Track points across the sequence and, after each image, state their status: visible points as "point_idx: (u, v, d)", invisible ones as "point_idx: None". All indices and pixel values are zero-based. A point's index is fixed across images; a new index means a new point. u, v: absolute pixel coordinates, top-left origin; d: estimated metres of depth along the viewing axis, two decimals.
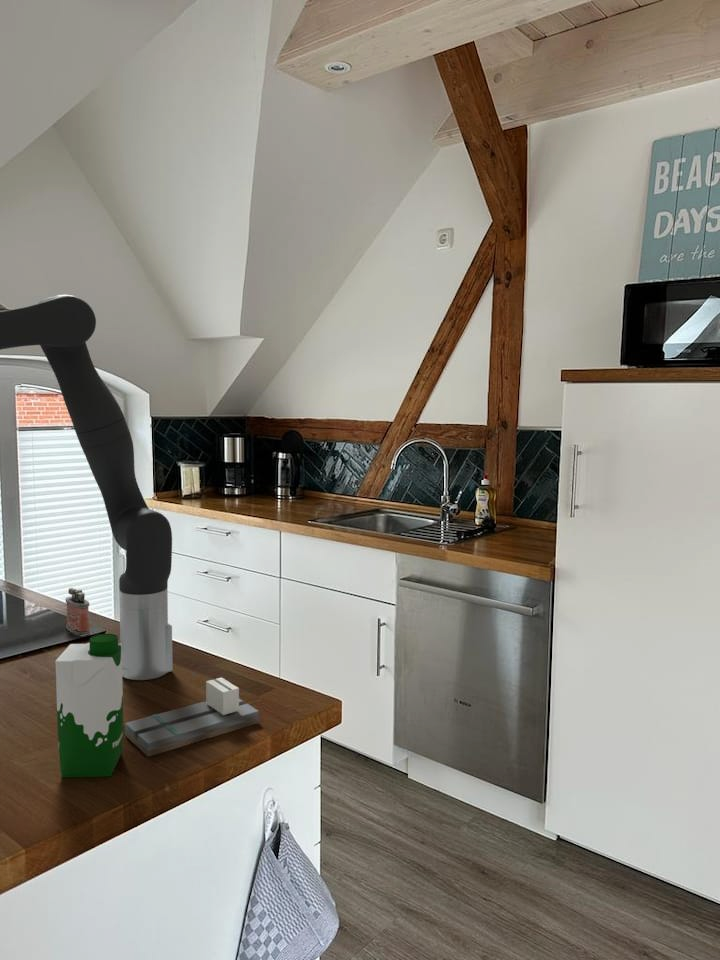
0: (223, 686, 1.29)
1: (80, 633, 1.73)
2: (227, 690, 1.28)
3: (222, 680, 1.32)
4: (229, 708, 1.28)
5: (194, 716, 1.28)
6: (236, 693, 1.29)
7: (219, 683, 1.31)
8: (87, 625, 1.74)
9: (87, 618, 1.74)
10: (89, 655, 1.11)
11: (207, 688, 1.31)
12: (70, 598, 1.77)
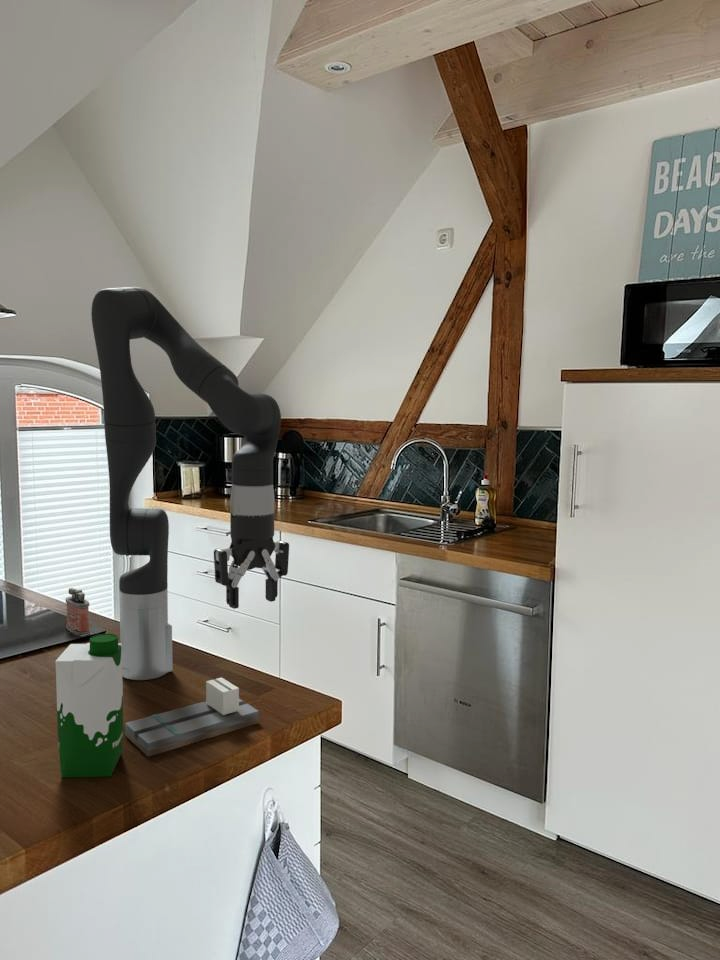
0: (223, 686, 1.29)
1: (80, 633, 1.73)
2: (227, 690, 1.28)
3: (222, 680, 1.32)
4: (229, 708, 1.28)
5: (194, 716, 1.28)
6: (236, 693, 1.29)
7: (219, 683, 1.31)
8: (87, 625, 1.74)
9: (87, 618, 1.74)
10: (89, 655, 1.11)
11: (207, 688, 1.31)
12: (70, 598, 1.77)
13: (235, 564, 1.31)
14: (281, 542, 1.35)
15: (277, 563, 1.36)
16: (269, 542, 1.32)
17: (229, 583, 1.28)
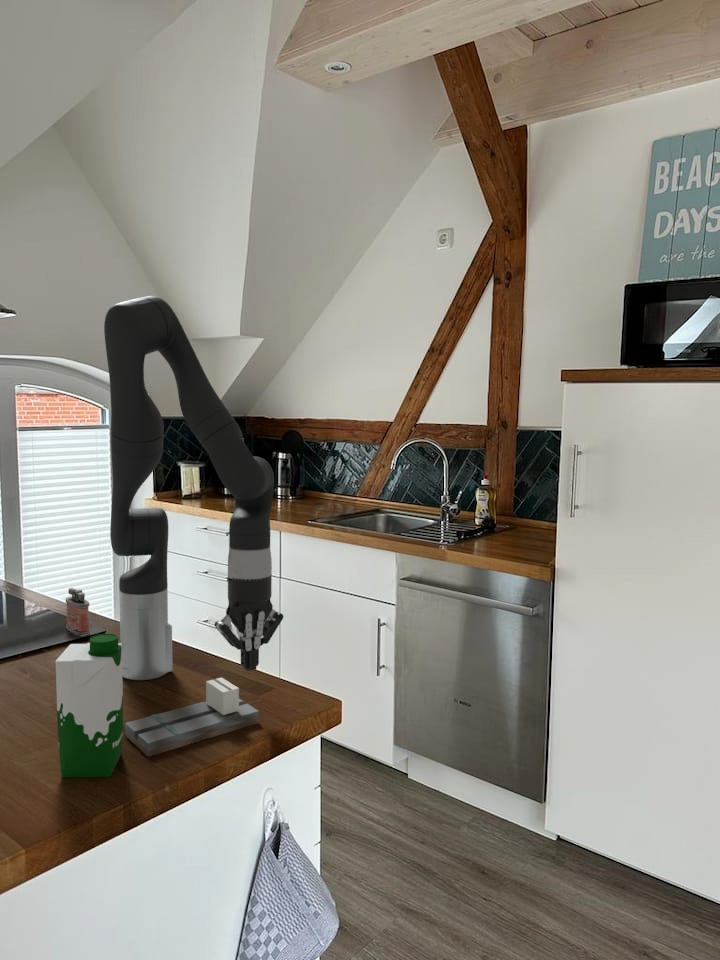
0: (223, 686, 1.29)
1: (80, 633, 1.73)
2: (227, 690, 1.28)
3: (222, 680, 1.32)
4: (229, 708, 1.28)
5: (194, 716, 1.28)
6: (236, 693, 1.29)
7: (219, 683, 1.31)
8: (87, 625, 1.74)
9: (87, 618, 1.74)
10: (89, 655, 1.11)
11: (207, 688, 1.31)
12: (70, 598, 1.77)
13: None
14: (277, 612, 1.35)
15: (262, 630, 1.35)
16: (269, 603, 1.33)
17: (243, 646, 1.31)
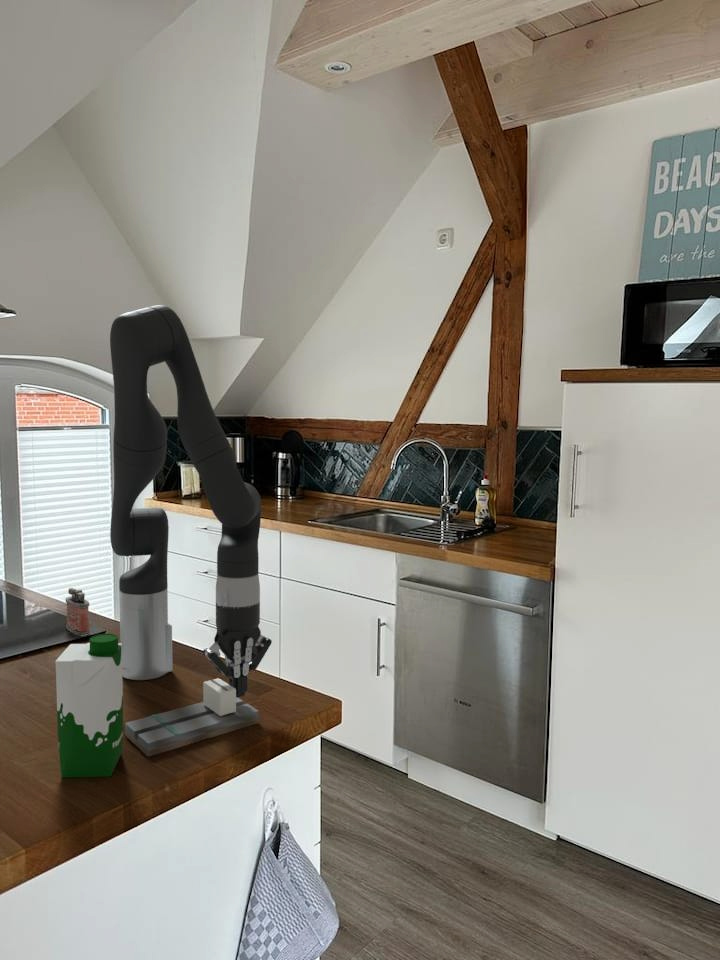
0: (220, 687, 1.29)
1: (80, 633, 1.73)
2: (224, 691, 1.28)
3: (219, 681, 1.32)
4: (226, 709, 1.28)
5: (194, 716, 1.28)
6: (233, 694, 1.28)
7: (216, 684, 1.30)
8: (87, 625, 1.74)
9: (87, 618, 1.74)
10: (89, 655, 1.11)
11: (204, 689, 1.31)
12: (70, 598, 1.77)
13: None
14: (265, 637, 1.35)
15: (251, 655, 1.34)
16: (257, 629, 1.32)
17: (232, 673, 1.31)
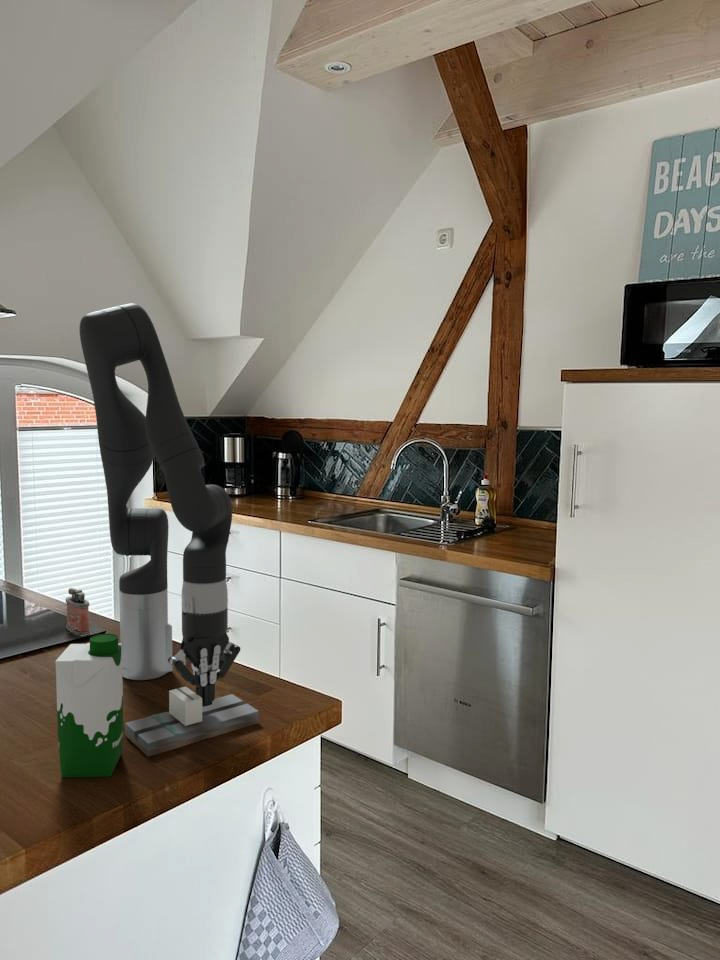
0: (186, 696, 1.25)
1: (80, 633, 1.73)
2: (190, 700, 1.24)
3: (186, 689, 1.28)
4: (192, 719, 1.24)
5: None
6: (199, 703, 1.24)
7: (182, 692, 1.26)
8: (87, 625, 1.74)
9: (87, 618, 1.74)
10: (89, 655, 1.11)
11: (170, 698, 1.27)
12: (70, 598, 1.77)
13: None
14: (234, 644, 1.31)
15: (219, 663, 1.30)
16: (225, 636, 1.29)
17: (198, 682, 1.27)
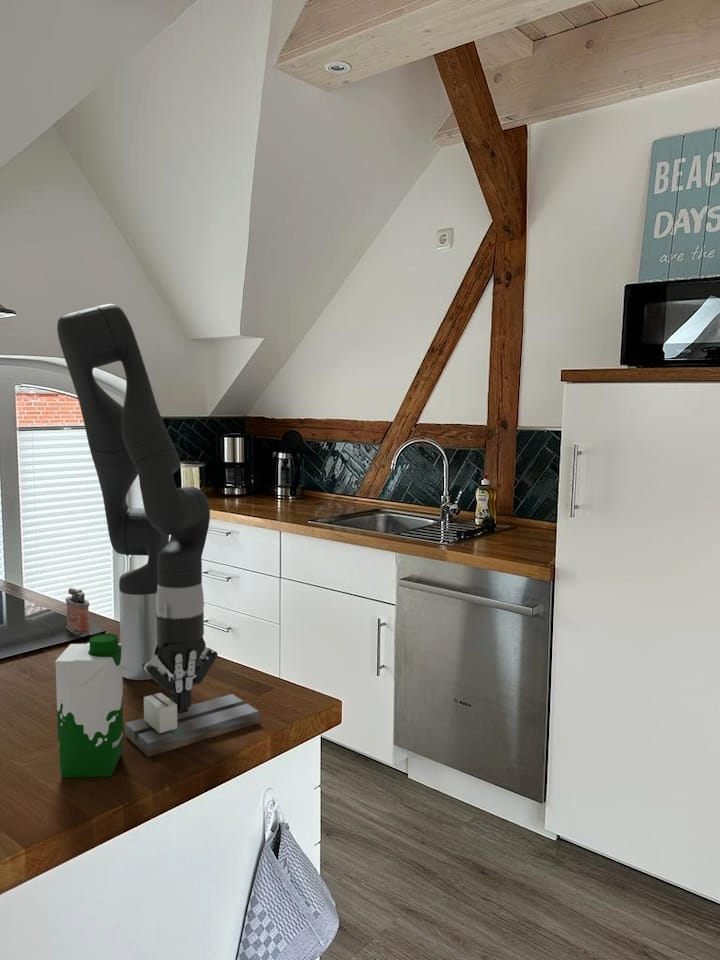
0: (160, 702, 1.22)
1: (80, 633, 1.73)
2: (164, 707, 1.21)
3: (161, 696, 1.25)
4: (166, 726, 1.21)
5: (194, 716, 1.28)
6: (174, 710, 1.22)
7: (157, 699, 1.24)
8: (87, 625, 1.74)
9: (87, 618, 1.74)
10: (89, 655, 1.11)
11: (145, 704, 1.24)
12: (70, 598, 1.77)
13: None
14: (211, 649, 1.28)
15: (195, 669, 1.28)
16: (201, 641, 1.26)
17: (174, 688, 1.24)
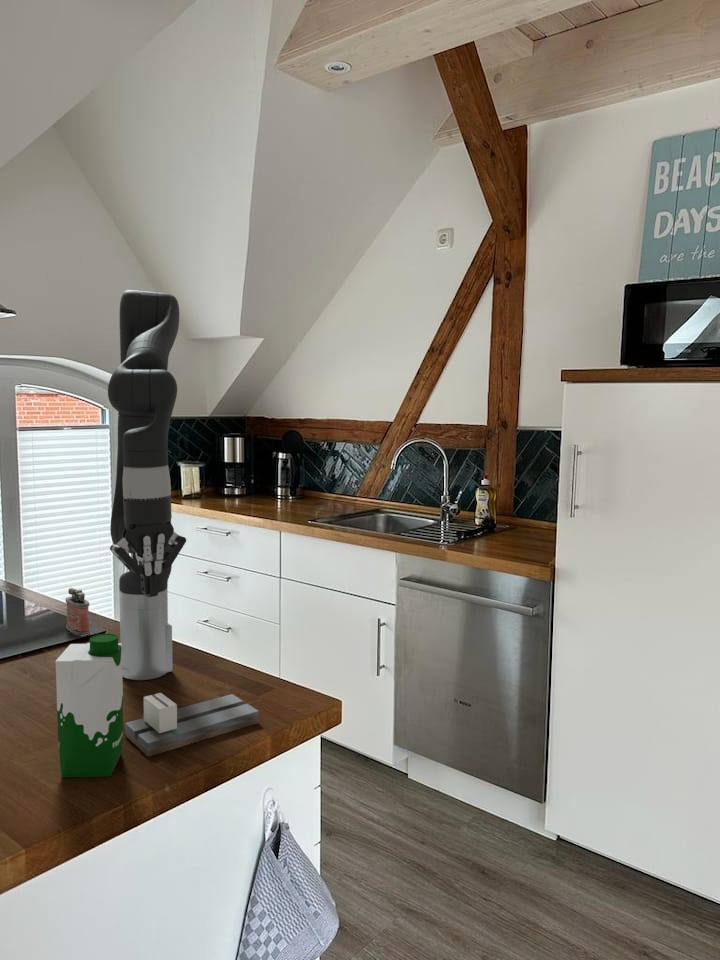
0: (160, 702, 1.22)
1: (80, 633, 1.73)
2: (164, 707, 1.21)
3: (161, 696, 1.25)
4: (166, 726, 1.21)
5: (194, 716, 1.28)
6: (174, 710, 1.22)
7: (157, 699, 1.24)
8: (87, 625, 1.74)
9: (87, 618, 1.74)
10: (89, 655, 1.11)
11: (144, 705, 1.24)
12: (70, 598, 1.77)
13: None
14: (179, 535, 1.28)
15: (164, 555, 1.28)
16: (169, 525, 1.26)
17: (143, 571, 1.24)
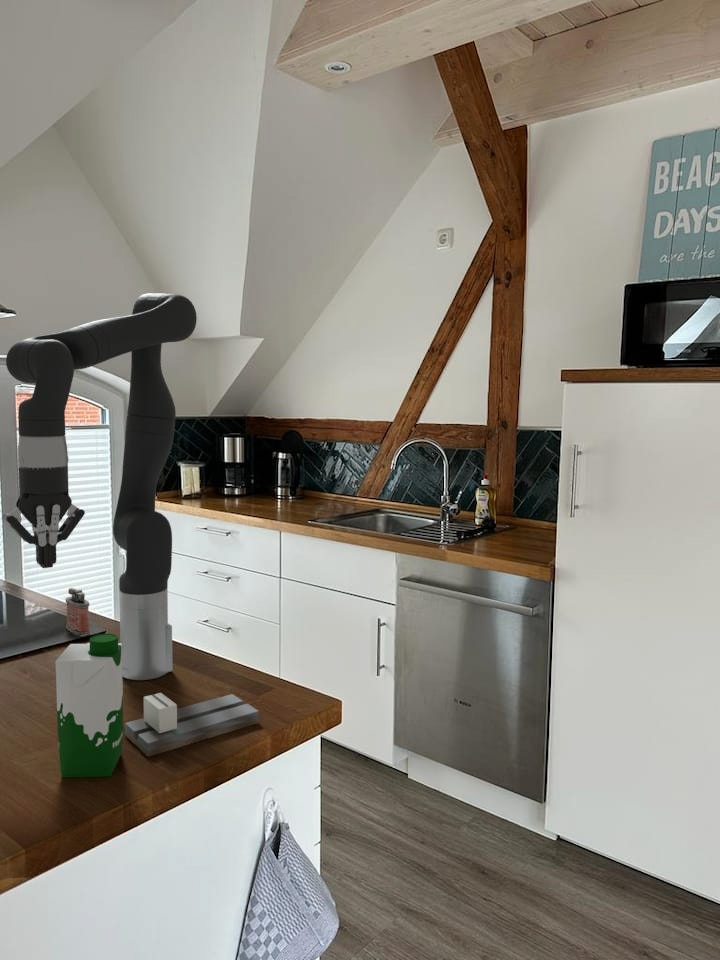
0: (160, 702, 1.22)
1: (80, 633, 1.73)
2: (164, 707, 1.21)
3: (161, 696, 1.25)
4: (166, 726, 1.21)
5: (194, 716, 1.28)
6: (174, 710, 1.22)
7: (157, 699, 1.24)
8: (87, 625, 1.74)
9: (87, 618, 1.74)
10: (89, 655, 1.11)
11: (144, 705, 1.24)
12: (70, 598, 1.77)
13: None
14: (78, 508, 1.28)
15: (62, 527, 1.28)
16: (66, 497, 1.26)
17: (37, 541, 1.24)
